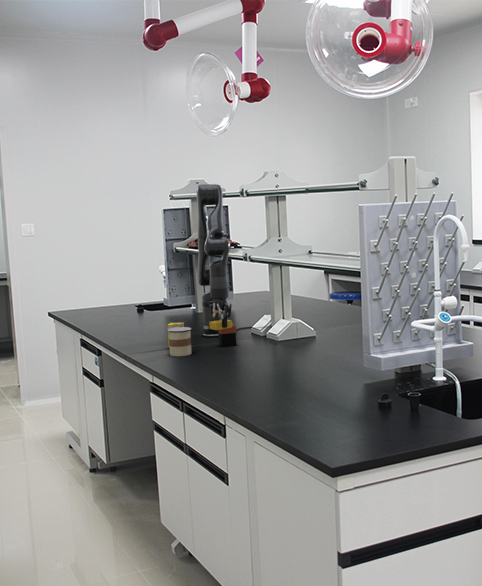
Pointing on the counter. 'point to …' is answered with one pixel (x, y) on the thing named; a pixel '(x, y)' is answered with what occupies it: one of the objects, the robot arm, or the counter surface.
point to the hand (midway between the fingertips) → (220, 326)
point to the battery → (227, 336)
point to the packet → (219, 324)
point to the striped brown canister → (180, 341)
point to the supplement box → (174, 325)
